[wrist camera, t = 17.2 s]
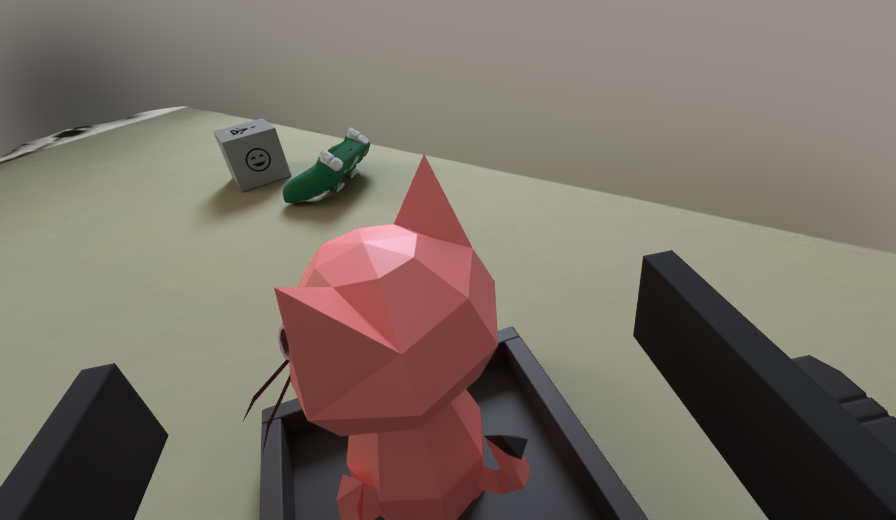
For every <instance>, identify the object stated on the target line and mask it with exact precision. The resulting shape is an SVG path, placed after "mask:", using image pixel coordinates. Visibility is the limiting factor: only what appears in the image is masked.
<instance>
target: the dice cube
mask: <svg viewBox="0 0 896 520" xmlns="http://www.w3.org/2000/svg"><path fill="white" fill-rule="evenodd" d="M214 135H215V137H216V139H217V142H218V144H219V147H220V149H221V151H222V154H223V156H224V159H225V161H226V163H227V166H228V168H229V171H230V173H231V175H232V178H233V179H234V181H235V182H236V184H237V185H238V187H239V188H240V190H241V191H242V192H244V191H247V190H250V189H253V188H256V187H259V186H262V185H265V184H268V183H271V182H274V181H277V180H280V179H283V178H286V177H289V176H291V173H290V170H289V167H288V165H287V162H286V159H285V156H284V153H283V150H282V147H281V144H280V141H279V138H278V135H277V132H276V129H275V127H273V126H272V125H271V124H270V123H268V122H267V121H266V120H264V119H263V118H262V119H258V120H254V121H251V122H247V123H243V124H240V125H236V126H232V127H229V128H225V129H221V130H217V131H214Z"/></svg>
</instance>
